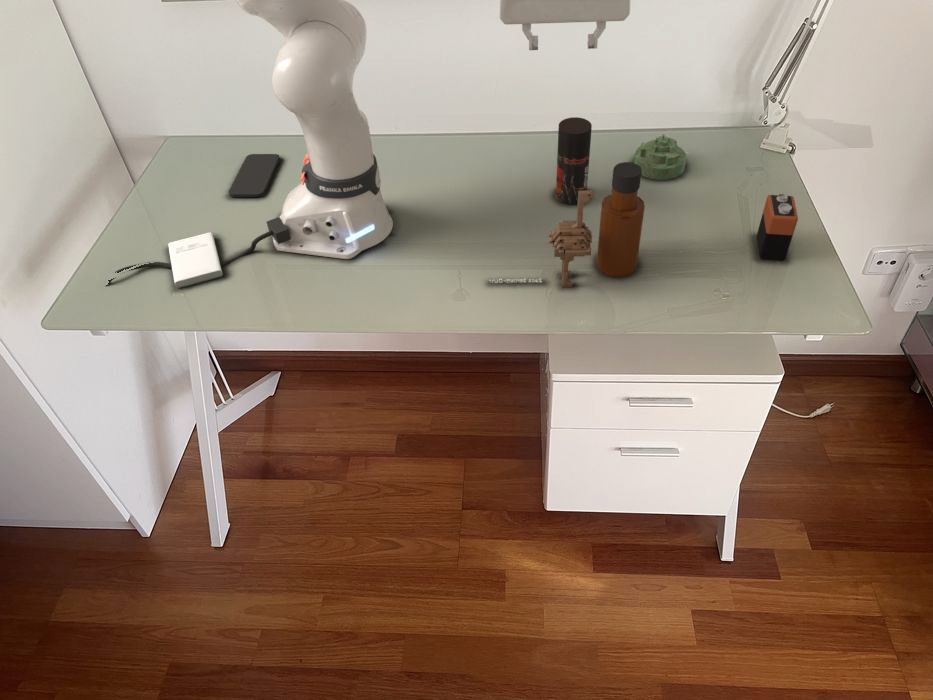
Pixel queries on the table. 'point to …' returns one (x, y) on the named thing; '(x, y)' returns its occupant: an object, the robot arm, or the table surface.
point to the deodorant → (572, 158)
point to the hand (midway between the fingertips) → (562, 48)
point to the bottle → (620, 233)
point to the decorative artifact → (660, 158)
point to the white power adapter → (194, 260)
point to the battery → (776, 227)
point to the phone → (254, 175)
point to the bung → (626, 177)
